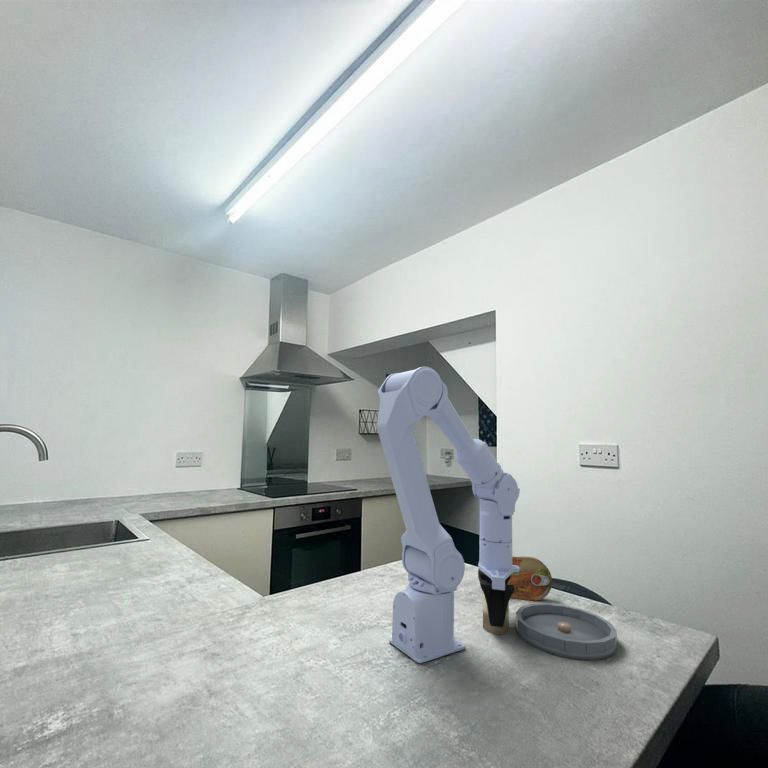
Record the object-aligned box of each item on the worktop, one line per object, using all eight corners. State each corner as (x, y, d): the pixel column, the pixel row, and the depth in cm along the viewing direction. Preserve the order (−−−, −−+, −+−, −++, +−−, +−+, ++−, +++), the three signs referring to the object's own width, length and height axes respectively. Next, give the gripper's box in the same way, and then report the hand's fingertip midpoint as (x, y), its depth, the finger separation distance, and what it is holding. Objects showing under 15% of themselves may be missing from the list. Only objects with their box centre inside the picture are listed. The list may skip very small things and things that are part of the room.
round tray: (581, 670, 61) (580, 651, 61) (497, 628, 73) (497, 613, 74) (635, 645, 69) (634, 628, 69) (551, 611, 82) (551, 598, 82)
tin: (477, 594, 90) (478, 553, 91) (478, 589, 93) (478, 550, 94) (552, 603, 86) (552, 560, 87) (550, 598, 89) (550, 557, 90)
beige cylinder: (496, 636, 70) (496, 598, 71) (477, 626, 74) (477, 590, 75) (514, 630, 73) (513, 594, 74) (494, 621, 77) (494, 586, 77)
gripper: (524, 551, 68) (525, 641, 66) (514, 532, 82) (514, 606, 80) (479, 547, 69) (479, 635, 67) (477, 529, 83) (477, 602, 81)
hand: (495, 619), depth 74 cm, fingers closed on beige cylinder, 4 cm apart
